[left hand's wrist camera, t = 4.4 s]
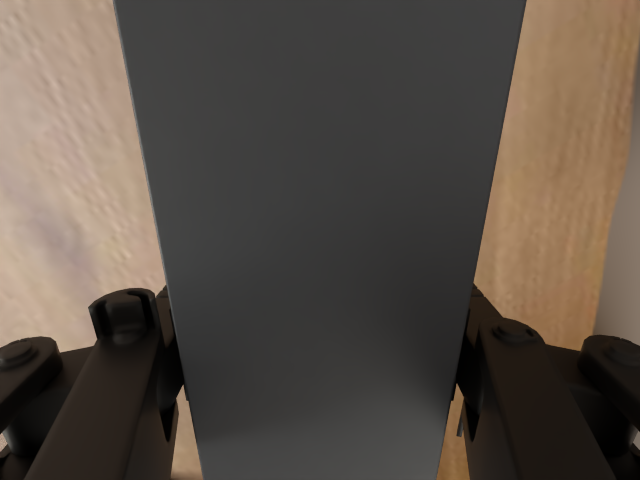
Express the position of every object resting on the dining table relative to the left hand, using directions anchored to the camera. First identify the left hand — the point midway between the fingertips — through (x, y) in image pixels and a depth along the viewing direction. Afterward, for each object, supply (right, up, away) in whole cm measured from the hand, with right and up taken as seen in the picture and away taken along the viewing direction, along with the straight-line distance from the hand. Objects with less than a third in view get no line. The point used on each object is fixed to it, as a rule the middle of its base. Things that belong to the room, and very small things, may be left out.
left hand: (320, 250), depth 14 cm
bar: (0, +7, -2) cm, 7 cm away
